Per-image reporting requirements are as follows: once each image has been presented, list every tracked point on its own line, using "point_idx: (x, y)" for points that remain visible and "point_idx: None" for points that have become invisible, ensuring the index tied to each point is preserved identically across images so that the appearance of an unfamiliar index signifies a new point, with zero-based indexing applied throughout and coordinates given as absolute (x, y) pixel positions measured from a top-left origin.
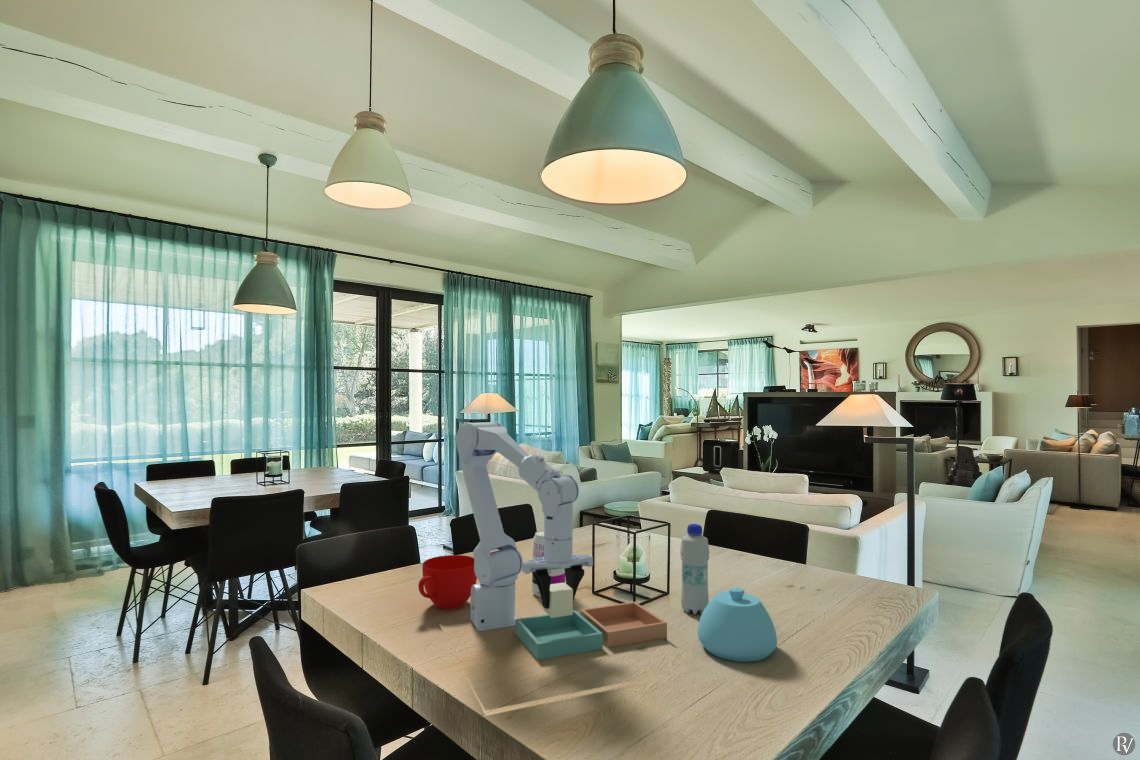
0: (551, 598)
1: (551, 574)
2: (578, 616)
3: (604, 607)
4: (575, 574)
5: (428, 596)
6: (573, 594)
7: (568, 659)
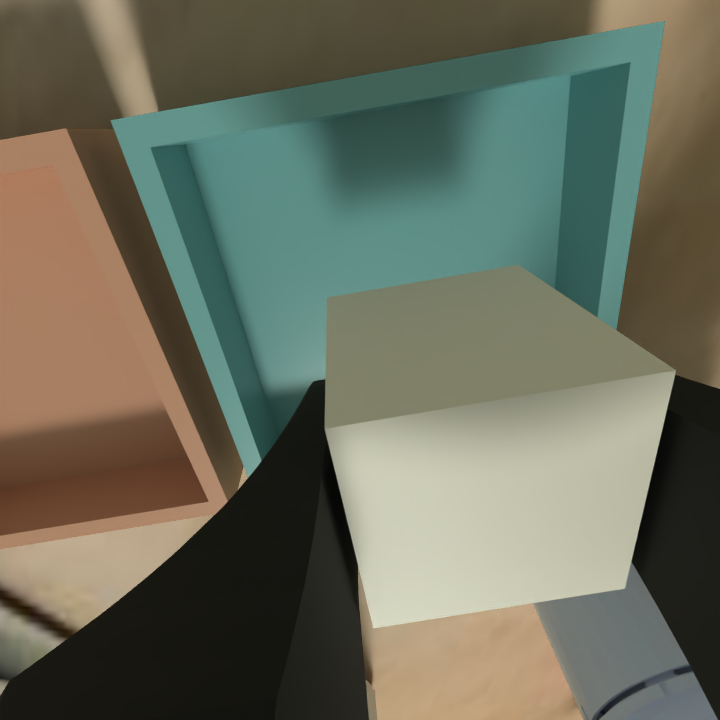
0: (614, 336)
1: None
2: (254, 437)
3: (88, 520)
4: (249, 692)
5: None
6: (305, 427)
7: (391, 60)
